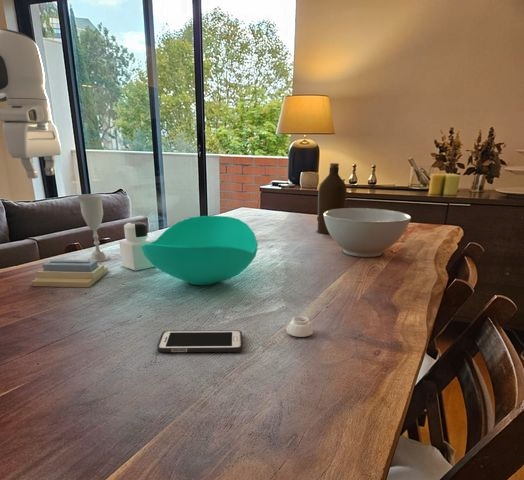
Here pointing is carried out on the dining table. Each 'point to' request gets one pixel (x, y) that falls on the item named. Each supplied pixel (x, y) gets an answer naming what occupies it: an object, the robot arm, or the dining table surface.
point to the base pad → (69, 278)
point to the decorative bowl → (365, 229)
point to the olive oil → (330, 196)
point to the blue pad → (70, 265)
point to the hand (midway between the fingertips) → (41, 176)
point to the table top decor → (203, 249)
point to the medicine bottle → (135, 246)
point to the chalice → (93, 220)
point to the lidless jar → (299, 327)
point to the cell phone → (201, 341)
